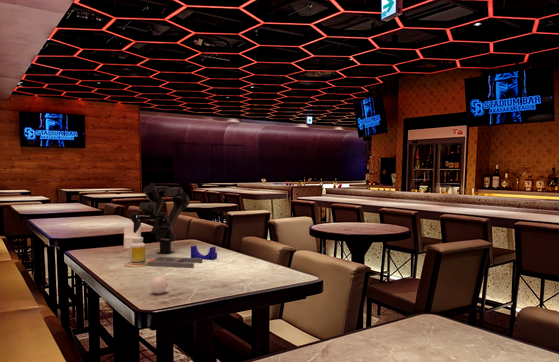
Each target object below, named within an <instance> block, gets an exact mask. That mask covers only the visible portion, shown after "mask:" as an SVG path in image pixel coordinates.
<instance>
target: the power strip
mask: <svg viewBox="0 0 559 362" xmlns="http://www.w3.org/2000/svg"><path fill="white" fill-rule="evenodd" d="M195 263H197V264H201V263H203V259H202V258H191V257H182V256H181V257H180V256H179V257H178V256H177V257H176V256H158V257H156V258H152V259H149V261H148V265H147V267H162V268H163V267H164V268H183V269H185V268H186V269H188V268H189V269H193V268H194V267H195Z"/></svg>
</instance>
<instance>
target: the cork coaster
mask: <svg viewBox="0 0 559 362" xmlns="http://www.w3.org/2000/svg"><path fill="white" fill-rule="evenodd" d="M148 262H149V261H147V260H145V263H143V264H131V263H130V261H129V262H125V263H124V267H126V268H141V267H148Z"/></svg>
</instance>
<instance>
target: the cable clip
mask: <svg viewBox="0 0 559 362" xmlns="http://www.w3.org/2000/svg"><path fill="white" fill-rule="evenodd" d="M216 249H217V247H216V246H211V247H209V251H208V252H207V254H202V253H201V252H200V251H199V250H198V246H197V245H194V244H193V245H192V246H190V258H202V260H206V261H214V260H216V259H218V252H217V251H216Z"/></svg>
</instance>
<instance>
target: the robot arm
mask: <svg viewBox="0 0 559 362" xmlns="http://www.w3.org/2000/svg"><path fill="white" fill-rule="evenodd" d="M142 190H143V194H144V195H145V196H146V198H147V200H148V201H149V202H139V206H138V207H139V208H138V210H141V213H142V215H141V214H140V213H139V212H130V214H129V215H128V218H129V219H130V221H131V222H132V223H133V226H134V231H133V232H134V233H136V232H137V230H138V229H139V227H140V226H141V227H142V223H143V221H155V222H154V224H153V227H152V228H151V231H150V232H151V234H154V238H155V242H159V251H157V252H156V254H160V255H161V254H162V255H163V254H164V255H169V254H172V253H174V252H175V251H174V250H172V242H175V241H176V235H175V233H174V229H173V227H174V226H175V223H176V222H177V219H178V218H179V216H180V214H181V213H182V211H183V210H186V209H187V208H188V207H189V205H190V204H191V200H190V197H189V195H188V194H187V192H185V191H184V189H183V187H179V186H178V187H176V186H175V187H169V186H167V185H165V186H164V185H163V186H160V185H159V186H158V185H155V183H154V182H150V183H149V184H148V185H146V186H144V187H143V189H142ZM170 196H172V197H171V200H172V203H173V207H172V209H171V210H170V212H169V213H168V215H167V212H161V208H162V206H165V201H164V199H163V198H166V199H167V198H168V197H169V198H170Z"/></svg>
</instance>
